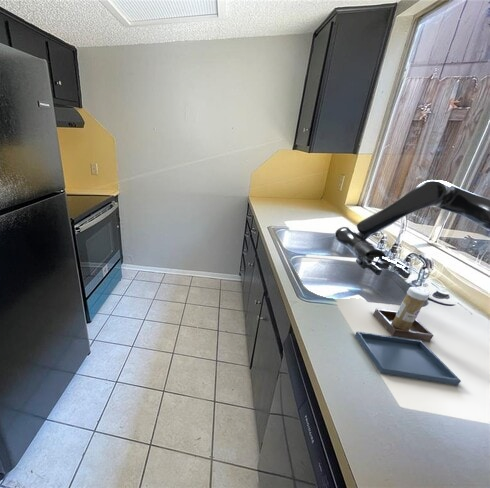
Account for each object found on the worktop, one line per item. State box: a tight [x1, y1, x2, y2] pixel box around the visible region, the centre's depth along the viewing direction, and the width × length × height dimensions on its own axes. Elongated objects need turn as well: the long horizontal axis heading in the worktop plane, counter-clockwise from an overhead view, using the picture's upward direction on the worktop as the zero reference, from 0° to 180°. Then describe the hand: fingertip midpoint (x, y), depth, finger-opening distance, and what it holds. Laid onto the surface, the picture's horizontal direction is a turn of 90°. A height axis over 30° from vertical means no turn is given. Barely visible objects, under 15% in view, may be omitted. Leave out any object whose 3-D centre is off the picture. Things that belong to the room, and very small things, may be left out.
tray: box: [354, 331, 462, 386], centre depth 70 cm, size 17×13×2 cm
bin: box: [372, 308, 434, 343], centre depth 81 cm, size 10×10×3 cm
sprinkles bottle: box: [392, 286, 430, 331], centre depth 78 cm, size 5×5×14 cm
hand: (393, 274), depth 86 cm, fingers open, 8 cm apart
